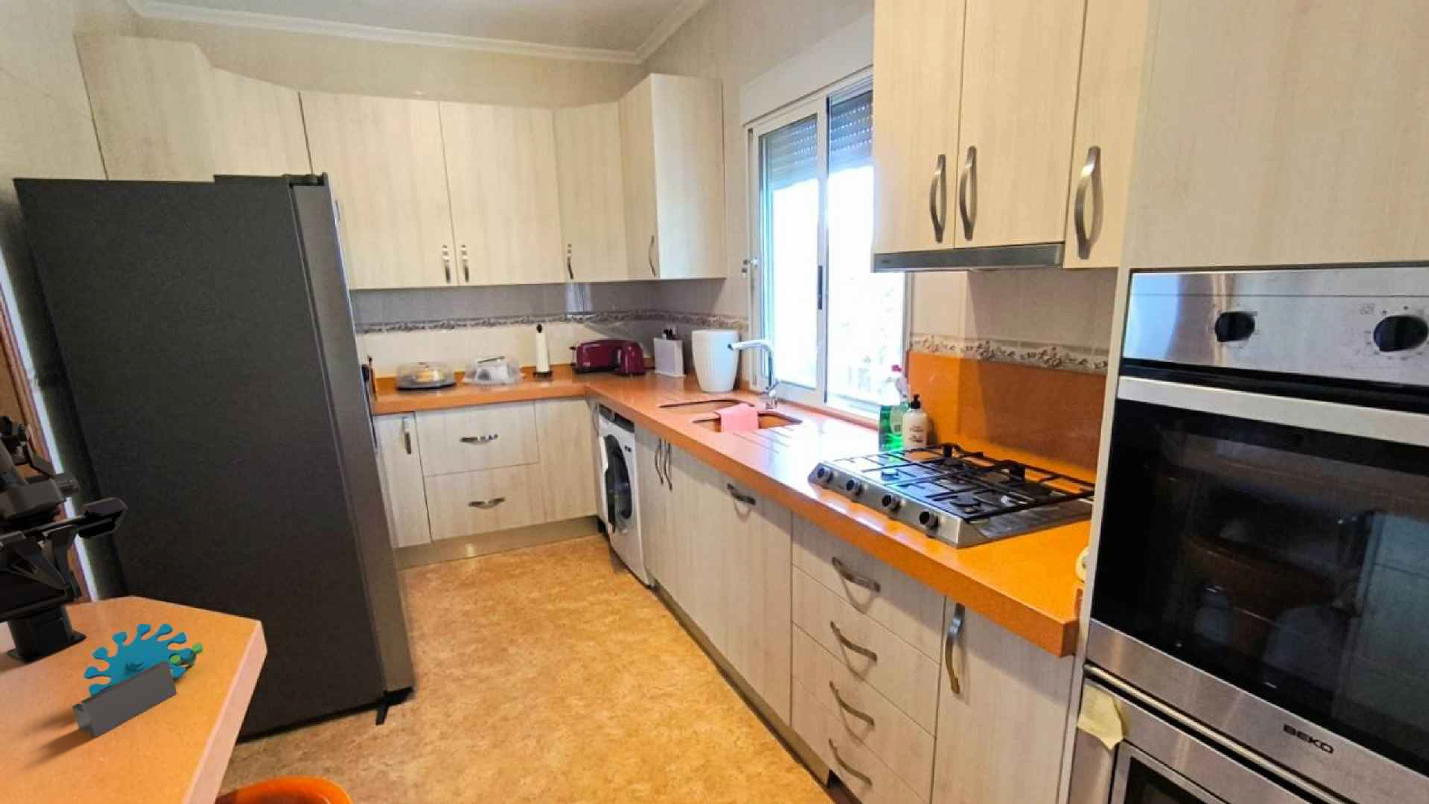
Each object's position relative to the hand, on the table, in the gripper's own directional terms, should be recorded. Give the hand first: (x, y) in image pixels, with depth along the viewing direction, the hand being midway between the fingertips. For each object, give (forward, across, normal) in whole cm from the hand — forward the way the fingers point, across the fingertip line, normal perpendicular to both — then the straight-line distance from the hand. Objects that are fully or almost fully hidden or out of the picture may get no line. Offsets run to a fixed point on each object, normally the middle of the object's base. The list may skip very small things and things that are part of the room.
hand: (66, 587), depth 79 cm
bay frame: (+19, -3, -2) cm, 20 cm away
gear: (+18, +1, 0) cm, 18 cm away
